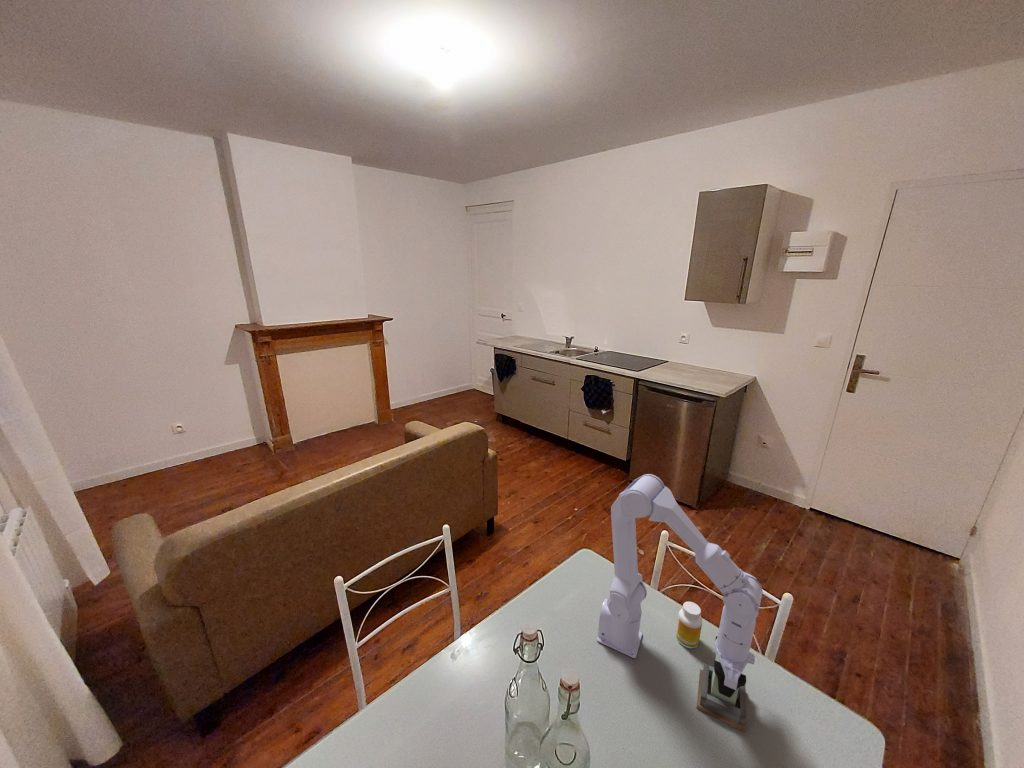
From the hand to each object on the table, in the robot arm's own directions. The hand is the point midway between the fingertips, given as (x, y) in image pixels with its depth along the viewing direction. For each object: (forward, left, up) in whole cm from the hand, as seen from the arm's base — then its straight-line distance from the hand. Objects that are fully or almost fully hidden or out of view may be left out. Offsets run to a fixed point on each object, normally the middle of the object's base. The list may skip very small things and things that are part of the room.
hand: (724, 683), depth 81 cm
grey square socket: (0, 0, -5) cm, 5 cm away
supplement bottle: (-8, +12, -5) cm, 15 cm away
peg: (0, 0, -2) cm, 2 cm away
